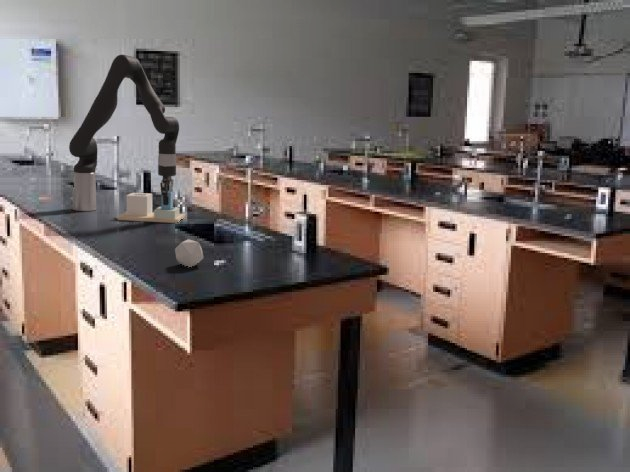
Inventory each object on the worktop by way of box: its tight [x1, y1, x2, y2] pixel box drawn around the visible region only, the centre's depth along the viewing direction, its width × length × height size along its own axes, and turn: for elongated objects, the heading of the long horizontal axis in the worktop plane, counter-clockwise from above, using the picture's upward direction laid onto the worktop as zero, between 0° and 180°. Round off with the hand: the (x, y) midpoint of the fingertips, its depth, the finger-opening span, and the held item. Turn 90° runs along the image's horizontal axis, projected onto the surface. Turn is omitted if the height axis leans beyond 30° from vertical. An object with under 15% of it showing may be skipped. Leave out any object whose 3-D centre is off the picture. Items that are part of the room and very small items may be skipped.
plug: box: [160, 191, 174, 210], centre depth 275 cm, size 4×4×10 cm
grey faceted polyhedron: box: [174, 238, 204, 268], centre depth 204 cm, size 8×9×10 cm
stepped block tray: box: [117, 192, 186, 224], centre depth 278 cm, size 26×14×10 cm, turn 89°
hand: (167, 203), depth 275 cm, fingers closed on plug, 3 cm apart
